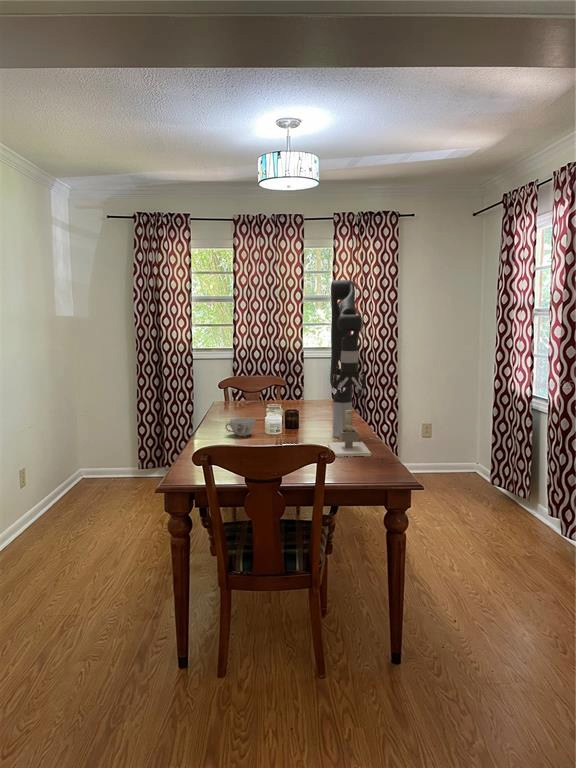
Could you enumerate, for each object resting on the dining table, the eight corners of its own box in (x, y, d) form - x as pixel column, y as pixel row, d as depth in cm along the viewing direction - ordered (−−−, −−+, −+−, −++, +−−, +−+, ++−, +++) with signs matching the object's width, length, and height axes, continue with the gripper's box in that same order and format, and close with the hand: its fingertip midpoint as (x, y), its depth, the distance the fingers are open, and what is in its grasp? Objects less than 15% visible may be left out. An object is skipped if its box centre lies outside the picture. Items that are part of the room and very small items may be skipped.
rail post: (344, 436, 258) (344, 410, 256) (351, 436, 258) (352, 409, 257) (345, 438, 255) (346, 411, 253) (353, 438, 255) (353, 411, 254)
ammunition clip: (275, 469, 230) (275, 439, 228) (273, 467, 232) (273, 438, 230) (299, 465, 235) (299, 436, 233) (297, 464, 236) (297, 435, 235)
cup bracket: (327, 445, 267) (327, 426, 266) (362, 445, 268) (362, 425, 267) (333, 457, 247) (333, 436, 246) (371, 456, 248) (371, 435, 247)
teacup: (251, 431, 297) (251, 416, 296) (258, 437, 285) (258, 420, 284) (222, 434, 292) (222, 418, 291) (228, 439, 280) (228, 423, 279)
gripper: (364, 360, 256) (363, 396, 258) (331, 360, 255) (331, 397, 258) (367, 361, 249) (366, 399, 251) (334, 362, 248) (334, 399, 250)
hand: (349, 398), depth 254 cm, fingers open, 8 cm apart
